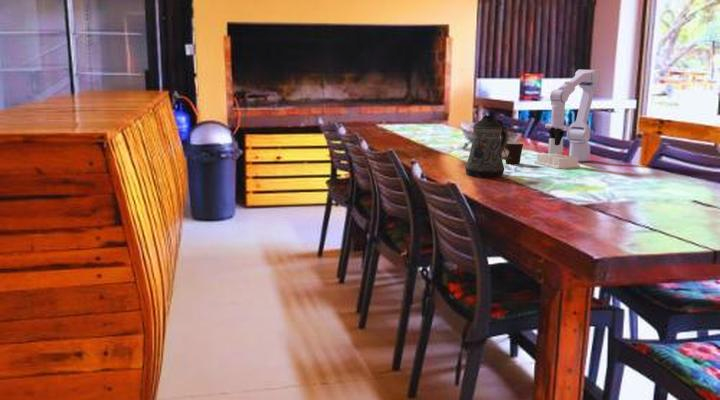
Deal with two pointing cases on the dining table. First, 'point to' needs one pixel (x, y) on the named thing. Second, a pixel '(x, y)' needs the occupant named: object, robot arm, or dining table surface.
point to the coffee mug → (513, 152)
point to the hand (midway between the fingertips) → (555, 144)
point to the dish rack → (557, 160)
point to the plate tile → (555, 146)
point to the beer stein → (487, 149)
